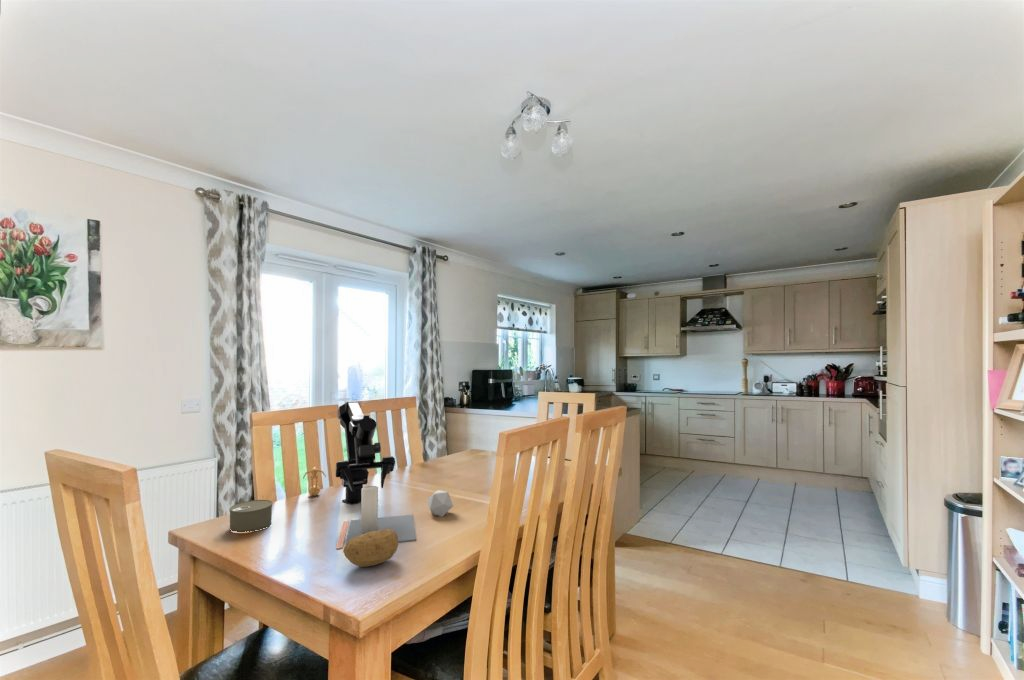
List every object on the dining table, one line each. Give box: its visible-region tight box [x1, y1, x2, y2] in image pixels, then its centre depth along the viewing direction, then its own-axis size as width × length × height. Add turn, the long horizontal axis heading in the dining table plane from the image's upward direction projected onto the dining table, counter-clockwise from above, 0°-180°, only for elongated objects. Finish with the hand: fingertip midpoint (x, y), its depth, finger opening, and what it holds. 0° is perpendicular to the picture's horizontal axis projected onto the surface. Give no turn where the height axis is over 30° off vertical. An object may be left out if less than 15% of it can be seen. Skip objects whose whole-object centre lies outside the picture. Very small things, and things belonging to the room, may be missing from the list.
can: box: [229, 499, 273, 532], centre depth 144 cm, size 12×12×7 cm
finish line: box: [335, 520, 350, 550], centre depth 137 cm, size 22×2×1 cm, turn 15°
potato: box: [342, 529, 399, 568], centre depth 117 cm, size 10×14×8 cm
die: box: [426, 489, 454, 518], centre depth 155 cm, size 8×9×10 cm
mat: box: [344, 514, 418, 546], centre depth 140 cm, size 20×22×1 cm
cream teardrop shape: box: [360, 485, 379, 533], centre depth 140 cm, size 5×5×13 cm
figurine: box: [302, 465, 327, 497], centre depth 176 cm, size 8×6×12 cm
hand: (367, 489), depth 144 cm, fingers open, 9 cm apart
